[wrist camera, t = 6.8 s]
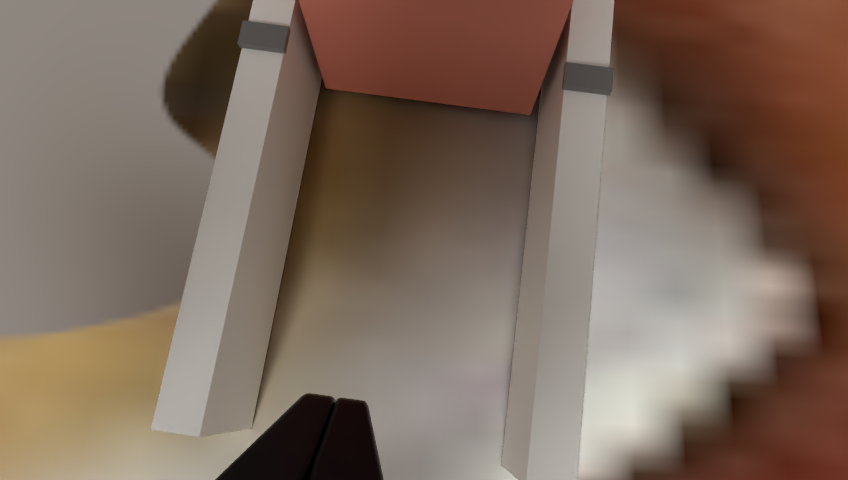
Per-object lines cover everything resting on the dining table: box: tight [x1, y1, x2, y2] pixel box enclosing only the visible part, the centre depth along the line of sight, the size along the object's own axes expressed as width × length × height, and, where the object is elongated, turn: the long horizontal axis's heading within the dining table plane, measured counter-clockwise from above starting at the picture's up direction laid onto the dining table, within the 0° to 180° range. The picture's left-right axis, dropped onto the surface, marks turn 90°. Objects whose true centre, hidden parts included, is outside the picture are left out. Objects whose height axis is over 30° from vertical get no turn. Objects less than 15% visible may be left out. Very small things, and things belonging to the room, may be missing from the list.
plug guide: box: [151, 0, 614, 480], centre depth 17 cm, size 19×9×4 cm, turn 172°
